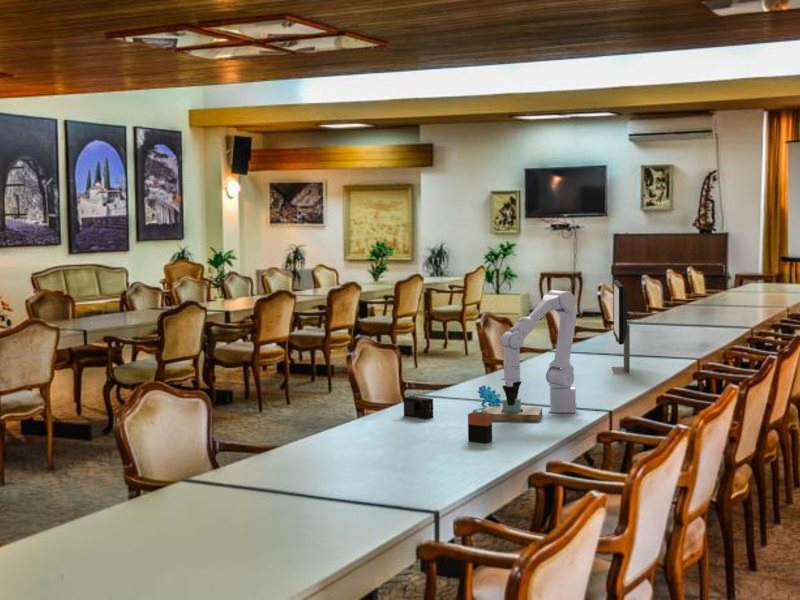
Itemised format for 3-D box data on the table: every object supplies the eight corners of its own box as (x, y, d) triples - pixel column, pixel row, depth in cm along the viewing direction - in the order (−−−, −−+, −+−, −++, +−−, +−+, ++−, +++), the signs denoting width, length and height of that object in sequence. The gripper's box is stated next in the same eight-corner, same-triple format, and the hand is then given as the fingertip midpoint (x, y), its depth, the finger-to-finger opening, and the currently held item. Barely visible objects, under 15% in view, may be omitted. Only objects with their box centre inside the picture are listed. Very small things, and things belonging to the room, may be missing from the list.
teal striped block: (520, 415, 376) (520, 398, 376) (519, 417, 372) (519, 400, 372) (504, 414, 377) (503, 397, 377) (502, 416, 373) (502, 399, 373)
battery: (486, 443, 333) (486, 412, 333) (467, 441, 337) (467, 410, 336) (492, 441, 337) (492, 410, 336) (474, 439, 341) (473, 408, 340)
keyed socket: (542, 414, 379) (542, 407, 379) (538, 422, 366) (538, 414, 366) (486, 413, 384) (486, 406, 384) (481, 420, 370) (481, 413, 370)
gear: (487, 405, 391) (475, 383, 396) (478, 414, 394) (467, 393, 399) (508, 405, 398) (496, 384, 403) (499, 414, 401) (487, 394, 407)
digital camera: (401, 416, 380) (401, 397, 380) (410, 414, 384) (410, 395, 384) (423, 420, 374) (423, 400, 373) (433, 417, 378) (433, 398, 377)
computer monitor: (608, 364, 497) (608, 280, 493) (626, 364, 496) (626, 279, 492) (613, 378, 456) (613, 286, 453) (633, 378, 455) (633, 286, 452)
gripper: (502, 362, 381) (503, 399, 382) (498, 368, 367) (498, 407, 368) (522, 362, 380) (522, 399, 381) (518, 368, 366) (518, 407, 367)
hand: (512, 403), depth 374 cm, fingers open, 7 cm apart
